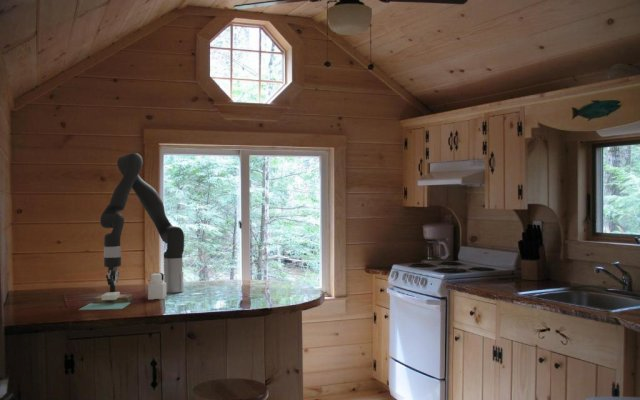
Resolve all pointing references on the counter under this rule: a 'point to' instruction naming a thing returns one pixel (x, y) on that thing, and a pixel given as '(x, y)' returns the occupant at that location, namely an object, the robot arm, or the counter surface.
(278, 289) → the counter surface
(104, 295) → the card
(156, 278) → the medicine bottle
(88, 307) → the mat
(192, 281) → the counter surface
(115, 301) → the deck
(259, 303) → the counter surface
